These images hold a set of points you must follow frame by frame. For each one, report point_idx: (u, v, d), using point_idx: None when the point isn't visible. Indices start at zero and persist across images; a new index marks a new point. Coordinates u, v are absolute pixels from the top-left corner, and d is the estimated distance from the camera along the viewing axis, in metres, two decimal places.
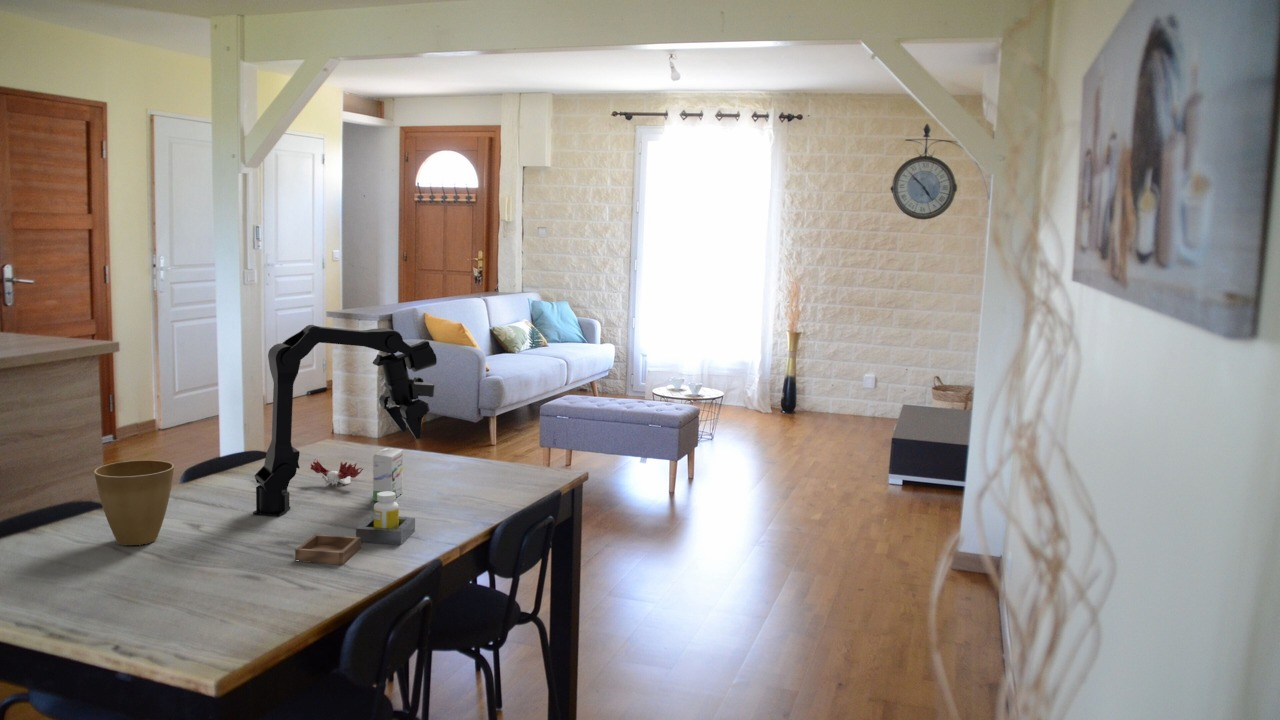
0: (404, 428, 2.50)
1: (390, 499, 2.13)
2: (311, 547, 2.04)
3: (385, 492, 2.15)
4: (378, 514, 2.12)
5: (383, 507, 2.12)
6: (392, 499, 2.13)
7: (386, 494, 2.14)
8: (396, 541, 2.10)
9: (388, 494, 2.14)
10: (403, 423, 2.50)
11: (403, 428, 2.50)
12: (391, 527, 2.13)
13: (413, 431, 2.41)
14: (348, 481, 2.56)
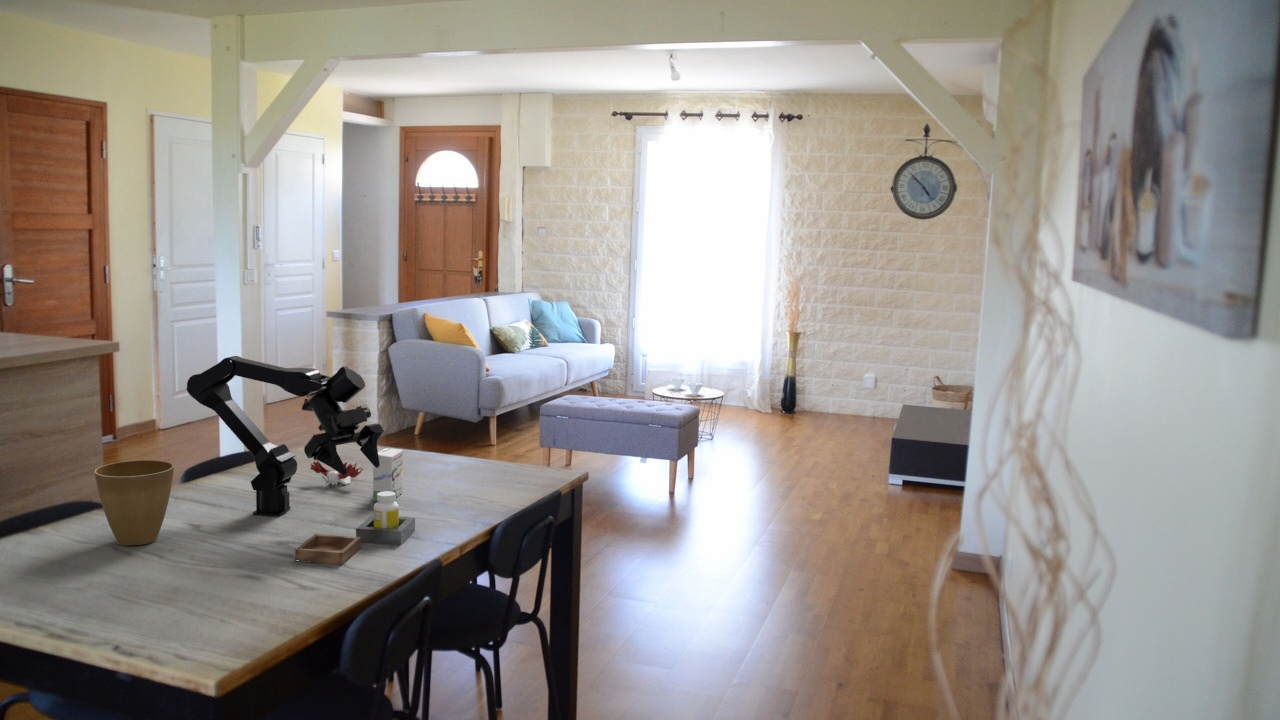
0: (376, 463, 2.22)
1: (390, 499, 2.13)
2: (311, 547, 2.04)
3: (385, 492, 2.15)
4: (378, 514, 2.12)
5: (383, 507, 2.12)
6: (392, 499, 2.13)
7: (387, 494, 2.14)
8: (396, 541, 2.10)
9: (388, 494, 2.14)
10: (373, 458, 2.22)
11: (375, 463, 2.22)
12: (391, 527, 2.13)
13: (334, 468, 2.15)
14: (348, 481, 2.56)
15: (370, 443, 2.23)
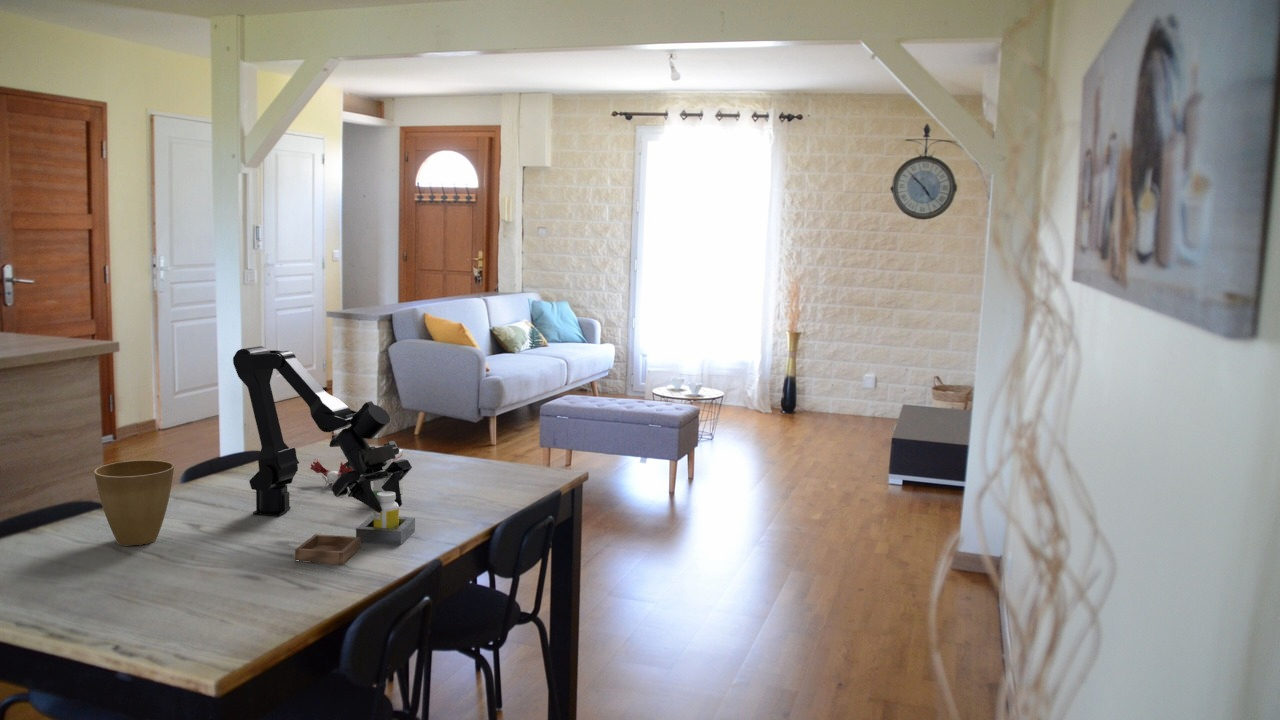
0: (398, 502, 2.16)
1: (390, 499, 2.13)
2: (311, 547, 2.04)
3: (385, 492, 2.15)
4: (378, 513, 2.12)
5: (383, 507, 2.12)
6: (392, 499, 2.13)
7: (387, 494, 2.14)
8: (396, 541, 2.10)
9: (388, 494, 2.14)
10: (396, 497, 2.17)
11: (397, 502, 2.17)
12: (391, 527, 2.13)
13: (369, 505, 2.12)
14: None
15: (392, 481, 2.18)
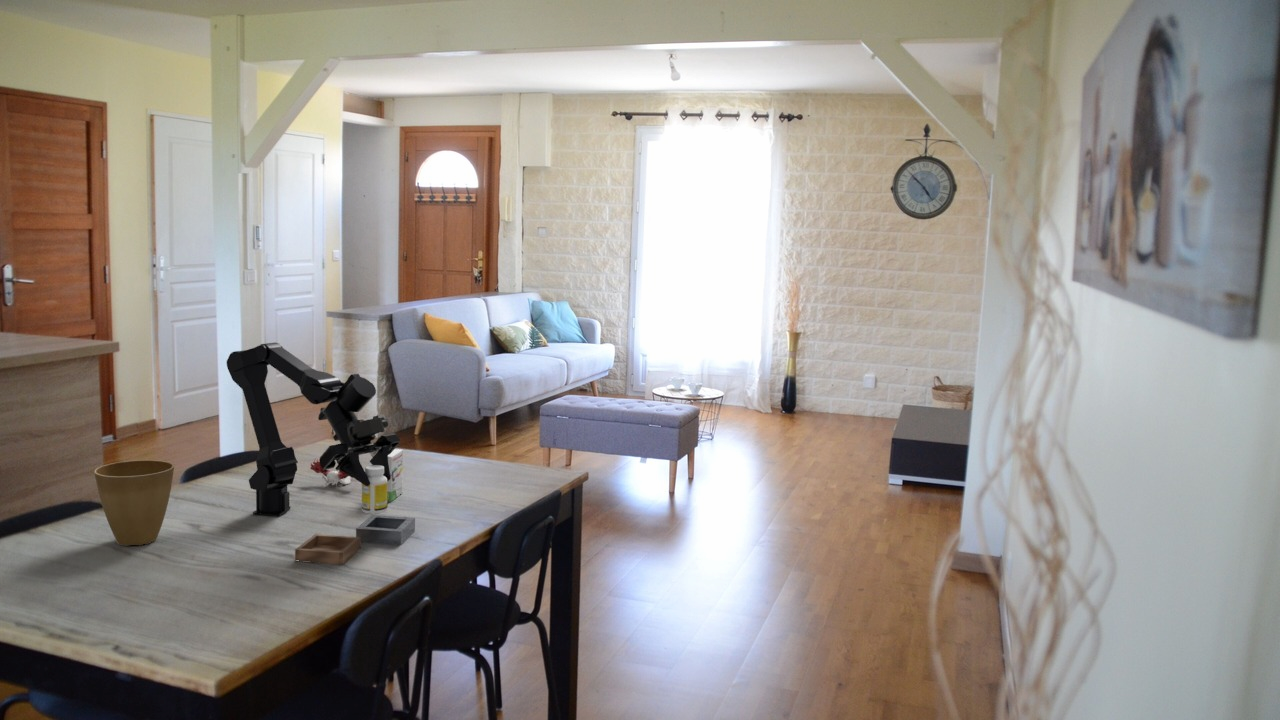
0: (386, 476, 2.13)
1: (378, 472, 2.09)
2: (311, 547, 2.04)
3: (373, 466, 2.12)
4: (366, 487, 2.09)
5: (371, 480, 2.09)
6: (381, 473, 2.10)
7: (375, 468, 2.10)
8: (396, 541, 2.10)
9: (377, 468, 2.10)
10: (384, 471, 2.13)
11: (386, 477, 2.13)
12: (380, 501, 2.10)
13: (357, 479, 2.09)
14: (348, 481, 2.56)
15: (381, 455, 2.14)
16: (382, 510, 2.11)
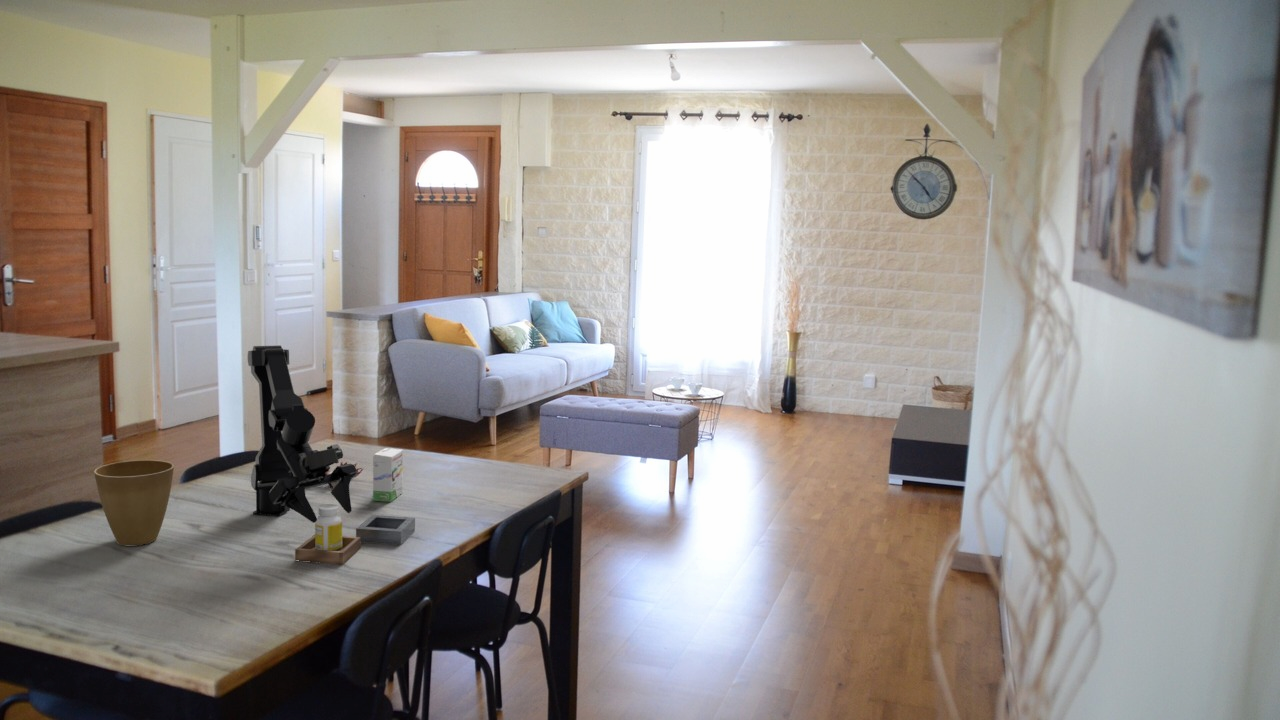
0: (347, 508, 2.04)
1: (332, 512, 2.00)
2: (311, 547, 2.04)
3: (327, 505, 2.02)
4: (319, 528, 1.99)
5: (324, 521, 1.99)
6: (334, 513, 2.00)
7: (328, 508, 2.00)
8: (396, 541, 2.10)
9: (330, 508, 2.00)
10: (345, 502, 2.04)
11: (347, 508, 2.04)
12: (334, 543, 2.00)
13: (303, 514, 1.97)
14: None
15: (341, 486, 2.05)
16: None
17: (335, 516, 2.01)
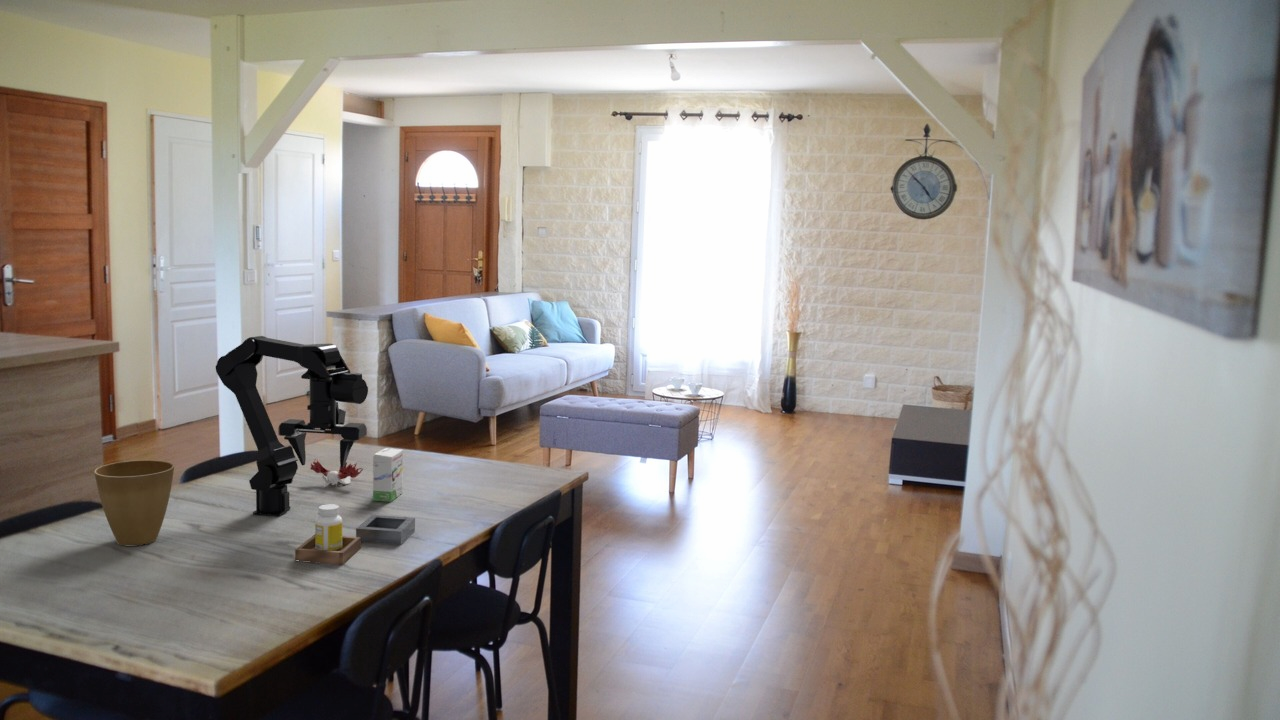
0: (304, 461, 2.23)
1: (332, 512, 2.00)
2: (311, 547, 2.04)
3: (327, 505, 2.02)
4: (319, 528, 1.99)
5: (325, 521, 1.99)
6: (335, 513, 2.00)
7: (329, 508, 2.00)
8: (396, 541, 2.10)
9: (331, 508, 2.00)
10: (304, 455, 2.23)
11: (304, 461, 2.23)
12: (334, 543, 2.00)
13: (344, 457, 2.21)
14: (348, 482, 2.56)
15: (304, 439, 2.23)
16: None
17: (335, 516, 2.01)
